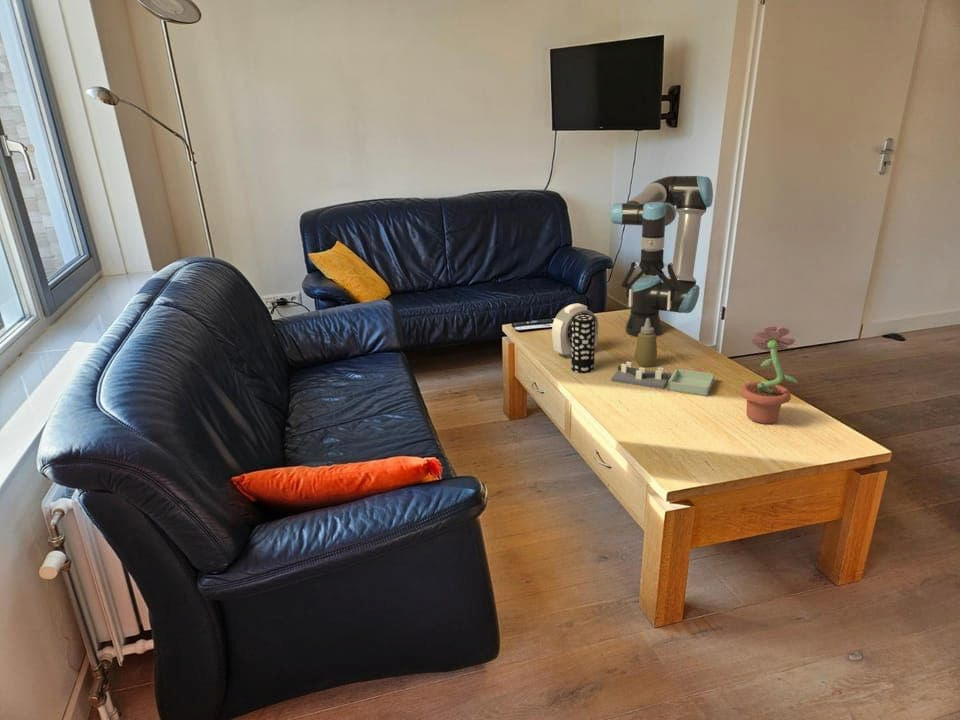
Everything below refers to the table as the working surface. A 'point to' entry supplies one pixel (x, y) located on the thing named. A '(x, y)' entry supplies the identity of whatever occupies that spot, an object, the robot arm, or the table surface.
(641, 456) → the table surface
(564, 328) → the alarm clock
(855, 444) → the table surface
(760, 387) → the decorative flower
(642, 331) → the squeeze bottle
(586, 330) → the white-spotted black cylinder
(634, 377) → the grey peg board
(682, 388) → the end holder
